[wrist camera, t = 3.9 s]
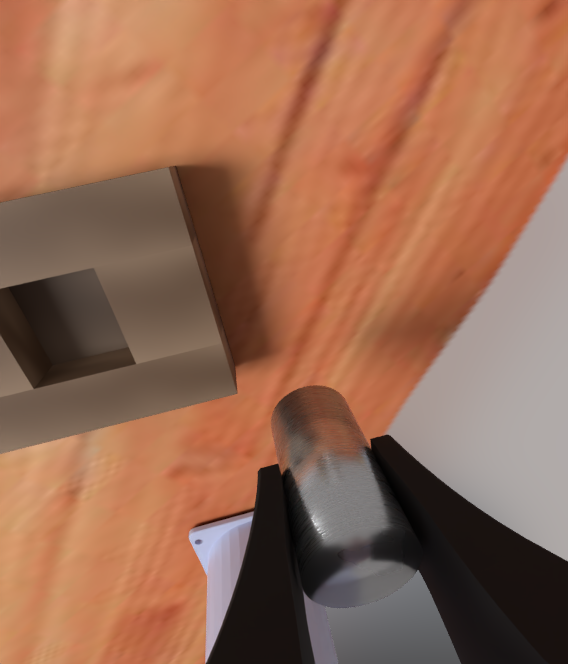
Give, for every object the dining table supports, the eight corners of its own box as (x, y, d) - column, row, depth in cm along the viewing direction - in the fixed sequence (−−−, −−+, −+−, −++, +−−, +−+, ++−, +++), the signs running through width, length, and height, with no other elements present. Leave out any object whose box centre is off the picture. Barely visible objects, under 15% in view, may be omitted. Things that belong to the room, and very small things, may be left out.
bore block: (235, 366, 20) (237, 393, 17) (7, 423, 19) (-21, 459, 17) (175, 166, 15) (168, 167, 13) (-127, 229, 14) (-191, 243, 12)
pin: (352, 438, 15) (422, 587, 10) (279, 457, 15) (311, 620, 10) (344, 377, 14) (422, 513, 9) (263, 397, 14) (291, 549, 8)
